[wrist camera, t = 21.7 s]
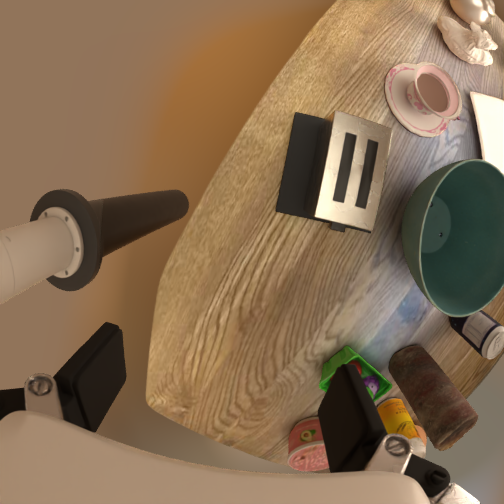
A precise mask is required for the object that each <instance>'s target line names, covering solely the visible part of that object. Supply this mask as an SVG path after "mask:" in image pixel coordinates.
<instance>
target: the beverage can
mask: <svg viewBox="0 0 504 504" xmlns="http://www.w3.org/2000/svg"><path fill="white" fill-rule="evenodd" d="M451 327H452V328H453V329H454V330H455V331H456V332H457V333H458V334H459V335H460V336H462V337H463V338H464V339H465V340H466V341H467V342H468V343H469V344H470V345H471V346H472V347H473V348H474V349H475V350H476V351H477V352H478V353H479V354H480V355H481V356H482V357H485V358H488V359H493V358H495V357H496V356H497V355H498V354H499V353H500V352H501V350H502V349H503V347H504V327H503V326H502V325H501V324H500V323H498V322H497V321H496V320H494V319H493V318H492V317H490V316H489V315H488V314H486V313H485V312H484V311H482V310H480V311H478V312H476V313H474V314H472V315H469V316H465V317H452V316H451Z"/></svg>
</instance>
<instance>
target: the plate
mask: <svg viewBox="0 0 504 504" xmlns="http://www.w3.org/2000/svg"><path fill="white" fill-rule="evenodd" d="M470 97H471V101H472V105H473V109H474V113H475V118H476V122H477V128H478V133H479V139H480V145H481V152H482V159H483V160H485V161H487V162H489V163H491V164H493V165H494V166H495V167H497V168H498V169H499V170H500V171H501V172H502V173H503V174H504V100H501V99H498V98H495V97H491V96H488V95H484V94H480V93H476V92H472V91H471V92H470Z"/></svg>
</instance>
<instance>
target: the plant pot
mask: <svg viewBox="0 0 504 504" xmlns="http://www.w3.org/2000/svg"><path fill="white" fill-rule="evenodd" d="M430 203H432V206H431V207H430ZM440 233H442V236H440V235H439V234H440ZM401 235H402V246H403V251H404V255H405V259H406V262H407V264H408V267H409V270H410V272H411V274H412V276H413V278H414V280H415V282H416V283H417V285H418V287H419V288H420V290H421V291H422V292H423V294H424V295H425V296H426V298H427V299H428V300H429V301H430V302H431V303H432V304H433V305H434V306H435V307H436V308H437V309H438V310H439V311H441V312H442V313H444V314H446V315H448V316H452V317H465V316H469V315H472V314H474V313H476V312H478V311H480V310H482V309H483V308H484V307H486V306H487V305H488V304H489V303H490V302H491V301H492V300H493V299H494V298H495V297H496V296H497V295H498V294H499V292H500V291H501V289H502V288H503V286H504V174H503V173H502V172H501V171H500V170H499V169H498V168H497V167H495V166H494V165H493V164H491V163H489V162H487V161H485V160H481V159H467V160H461V161H458V162H454V163H451V164H449V165H447V166H444V167H442V168H440V169H439V170H437V171H435V172H434V173H432V174H431V175H430V176H428V177H427V178H426V179H425V180H424V181H423V182H422V183H421V184H420V185H419V186H418V187H417V188H416V190H415V191H414V193H413V194H412V196H411V197H410V199H409V201H408V203H407V206H406V208H405V212H404V215H403V220H402V230H401Z"/></svg>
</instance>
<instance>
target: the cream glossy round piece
mask: <svg viewBox="0 0 504 504" xmlns="http://www.w3.org/2000/svg"><path fill="white" fill-rule="evenodd" d="M449 1H450V4H451V7H452V9H453V10H454V12H455V13H456V14H457V15H458V16H459V17H460V18H461V19H462V20H463V21H465V22H467V23H469V24H470V22H472V21H473V22H474V23H475V24H478V25H479V26H482V25H485V24H489V23H490V22H491V18H492V17H495V5H494V2H493V1H492V0H449Z"/></svg>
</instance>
